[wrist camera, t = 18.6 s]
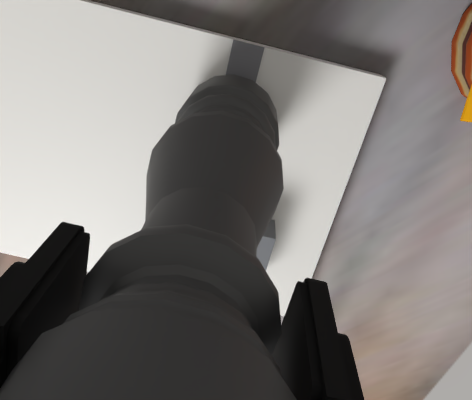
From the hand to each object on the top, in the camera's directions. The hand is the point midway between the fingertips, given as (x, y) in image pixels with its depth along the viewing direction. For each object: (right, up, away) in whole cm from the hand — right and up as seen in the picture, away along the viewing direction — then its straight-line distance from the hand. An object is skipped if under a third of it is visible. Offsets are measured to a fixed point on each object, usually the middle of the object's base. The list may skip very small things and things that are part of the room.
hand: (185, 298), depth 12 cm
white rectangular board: (-4, +5, +21) cm, 22 cm away
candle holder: (+1, +8, +16) cm, 18 cm away
